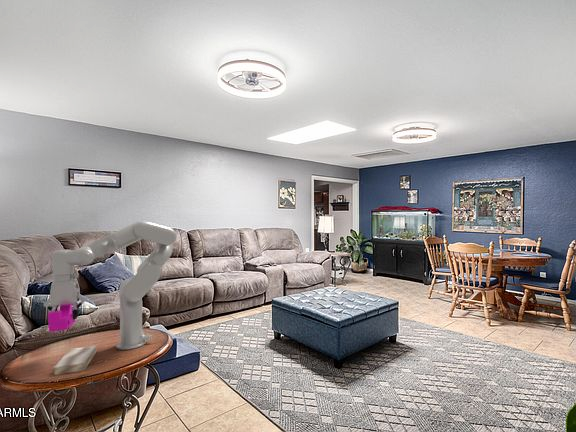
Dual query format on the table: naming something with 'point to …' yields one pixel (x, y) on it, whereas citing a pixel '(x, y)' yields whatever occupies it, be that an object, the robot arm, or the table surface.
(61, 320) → the toy block
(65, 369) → the plinth
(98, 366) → the table surface
